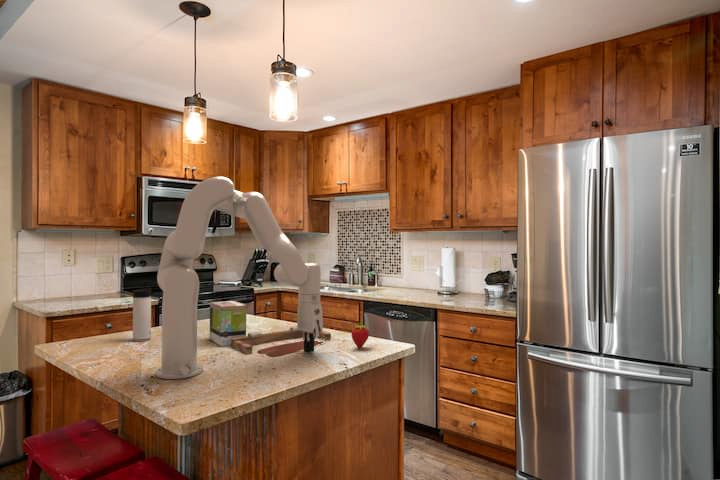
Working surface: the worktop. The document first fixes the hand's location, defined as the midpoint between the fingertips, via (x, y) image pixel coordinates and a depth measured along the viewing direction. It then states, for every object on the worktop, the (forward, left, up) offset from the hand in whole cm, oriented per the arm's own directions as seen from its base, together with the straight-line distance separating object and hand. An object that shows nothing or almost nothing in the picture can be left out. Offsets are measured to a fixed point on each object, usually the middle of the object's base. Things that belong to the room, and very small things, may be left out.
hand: (308, 351), depth 152 cm
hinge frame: (+18, 0, 0) cm, 18 cm away
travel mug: (+56, +40, -1) cm, 69 cm away
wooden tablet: (+10, 0, -1) cm, 10 cm away
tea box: (+34, +15, -1) cm, 37 cm away
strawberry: (-6, -18, -1) cm, 19 cm away
